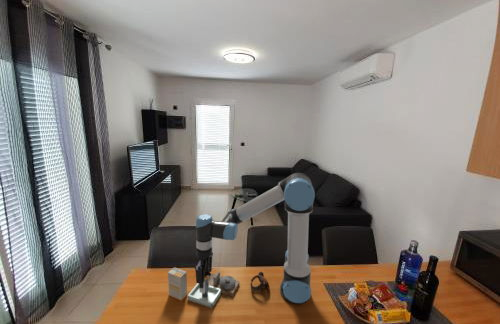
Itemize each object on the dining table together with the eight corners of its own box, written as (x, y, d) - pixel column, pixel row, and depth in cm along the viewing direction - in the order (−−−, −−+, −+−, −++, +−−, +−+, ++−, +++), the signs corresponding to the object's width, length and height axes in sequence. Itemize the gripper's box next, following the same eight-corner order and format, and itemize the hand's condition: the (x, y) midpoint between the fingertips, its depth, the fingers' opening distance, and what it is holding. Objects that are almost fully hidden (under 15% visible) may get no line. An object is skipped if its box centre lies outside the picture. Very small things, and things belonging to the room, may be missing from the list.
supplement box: (187, 294, 108) (187, 271, 105) (181, 301, 103) (180, 277, 101) (175, 289, 111) (174, 266, 109) (168, 295, 107) (167, 272, 104)
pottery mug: (271, 296, 108) (264, 286, 105) (254, 301, 110) (247, 291, 108) (270, 275, 119) (264, 266, 116) (255, 280, 121) (248, 270, 118)
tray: (221, 293, 109) (221, 289, 108) (212, 308, 100) (212, 303, 100) (198, 286, 113) (198, 282, 113) (187, 299, 104) (187, 295, 104)
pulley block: (239, 284, 116) (239, 274, 115) (232, 296, 107) (232, 286, 106) (209, 275, 121) (209, 266, 120) (201, 286, 113) (201, 276, 112)
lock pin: (209, 292, 108) (209, 273, 107) (208, 298, 105) (207, 278, 103) (202, 292, 108) (201, 273, 107) (200, 298, 105) (200, 278, 103)
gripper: (206, 237, 111) (206, 277, 115) (187, 254, 96) (188, 299, 100) (219, 240, 108) (218, 281, 112) (202, 257, 93) (202, 304, 97)
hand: (204, 289), depth 106 cm, fingers closed on lock pin, 3 cm apart
